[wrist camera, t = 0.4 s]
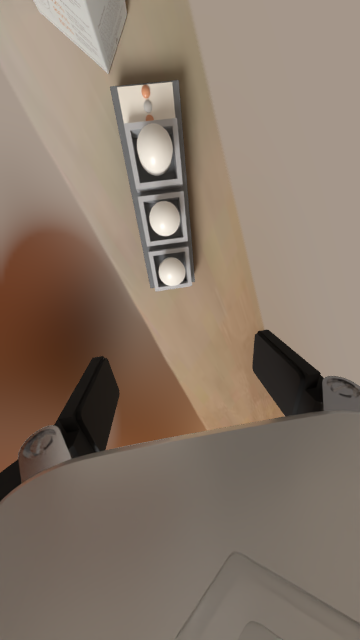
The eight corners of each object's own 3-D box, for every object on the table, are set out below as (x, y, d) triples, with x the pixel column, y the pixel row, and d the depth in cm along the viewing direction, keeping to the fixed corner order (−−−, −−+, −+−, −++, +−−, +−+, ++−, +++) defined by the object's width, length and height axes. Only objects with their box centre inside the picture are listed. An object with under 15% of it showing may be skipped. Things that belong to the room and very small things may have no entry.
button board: (115, 103, 23) (105, 72, 18) (176, 97, 23) (180, 65, 19) (151, 284, 34) (150, 292, 29) (192, 278, 34) (197, 285, 30)
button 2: (135, 134, 20) (133, 125, 19) (169, 131, 21) (170, 121, 19) (142, 177, 22) (141, 172, 20) (173, 173, 22) (174, 168, 21)
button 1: (156, 259, 27) (156, 260, 25) (182, 255, 27) (183, 257, 25) (161, 284, 29) (161, 287, 27) (185, 280, 29) (186, 283, 27)
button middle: (147, 205, 24) (146, 203, 22) (176, 201, 24) (178, 199, 22) (152, 237, 25) (152, 238, 24) (180, 234, 26) (181, 234, 24)
